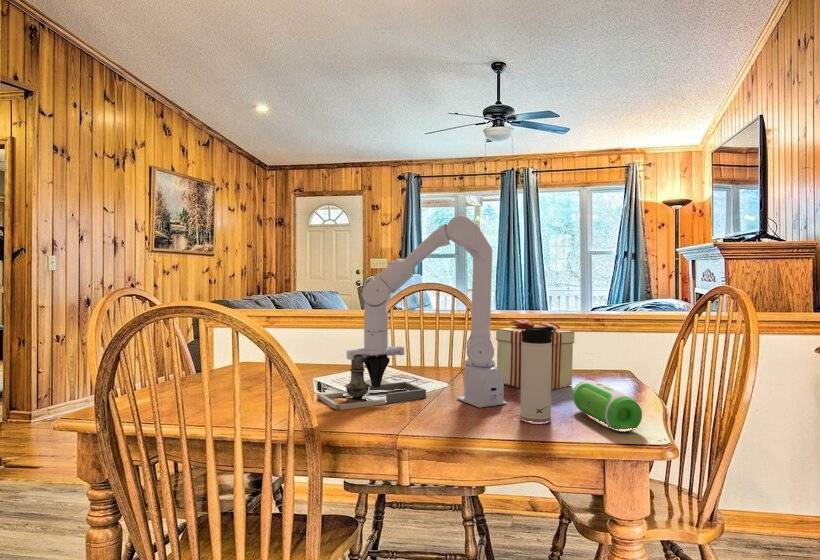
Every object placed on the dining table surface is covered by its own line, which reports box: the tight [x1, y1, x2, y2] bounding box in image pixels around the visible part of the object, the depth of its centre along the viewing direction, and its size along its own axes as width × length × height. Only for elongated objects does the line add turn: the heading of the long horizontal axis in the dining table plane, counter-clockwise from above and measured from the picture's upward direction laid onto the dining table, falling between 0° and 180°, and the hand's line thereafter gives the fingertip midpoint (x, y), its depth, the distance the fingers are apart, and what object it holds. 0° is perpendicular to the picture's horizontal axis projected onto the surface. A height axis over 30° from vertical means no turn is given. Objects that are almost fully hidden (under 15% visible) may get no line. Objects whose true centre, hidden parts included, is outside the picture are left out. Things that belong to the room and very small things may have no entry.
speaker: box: [572, 379, 643, 430], centre depth 120 cm, size 18×7×8 cm, turn 9°
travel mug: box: [519, 326, 554, 422], centre depth 120 cm, size 6×7×20 cm
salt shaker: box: [344, 355, 371, 403], centre depth 137 cm, size 6×6×12 cm
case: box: [368, 381, 427, 404], centre depth 142 cm, size 10×10×2 cm
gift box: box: [495, 319, 575, 390], centre depth 157 cm, size 17×18×17 cm
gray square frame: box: [318, 391, 386, 411], centre depth 136 cm, size 12×12×1 cm
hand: (375, 386), depth 139 cm, fingers closed
